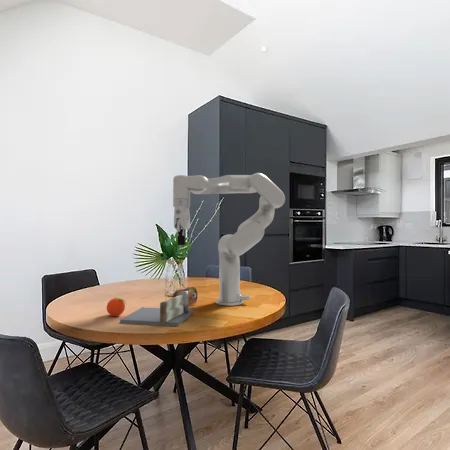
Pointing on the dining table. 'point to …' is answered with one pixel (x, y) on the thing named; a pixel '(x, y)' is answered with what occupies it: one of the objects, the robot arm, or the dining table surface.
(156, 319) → the board
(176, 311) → the gate
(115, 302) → the clementine
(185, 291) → the post
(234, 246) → the robot arm
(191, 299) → the tin
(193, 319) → the dining table surface
